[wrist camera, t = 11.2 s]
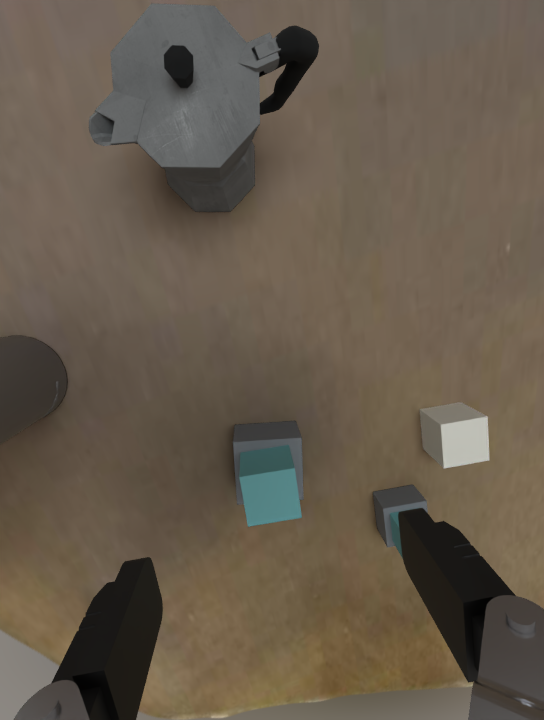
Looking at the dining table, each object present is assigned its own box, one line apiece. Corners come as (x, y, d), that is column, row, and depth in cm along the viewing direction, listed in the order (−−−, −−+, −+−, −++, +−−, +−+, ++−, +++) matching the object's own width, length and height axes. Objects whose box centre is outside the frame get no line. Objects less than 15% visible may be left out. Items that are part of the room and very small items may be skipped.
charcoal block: (238, 480, 44) (237, 504, 39) (234, 424, 43) (233, 442, 38) (297, 476, 45) (303, 499, 40) (295, 420, 43) (301, 437, 38)
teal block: (248, 496, 39) (248, 526, 34) (240, 452, 38) (239, 477, 33) (295, 488, 39) (301, 517, 34) (288, 444, 38) (294, 468, 33)
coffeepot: (171, 238, 38) (106, 198, 21) (128, 145, 36) (16, 13, 19) (310, 177, 38) (364, 85, 20) (274, 80, 36) (299, -116, 18)
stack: (377, 528, 46) (399, 570, 40) (372, 491, 45) (395, 528, 38) (416, 520, 46) (445, 561, 40) (413, 484, 45) (442, 519, 39)
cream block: (422, 448, 45) (443, 468, 40) (419, 409, 44) (440, 424, 39) (463, 441, 45) (489, 460, 40) (460, 401, 44) (487, 416, 39)
